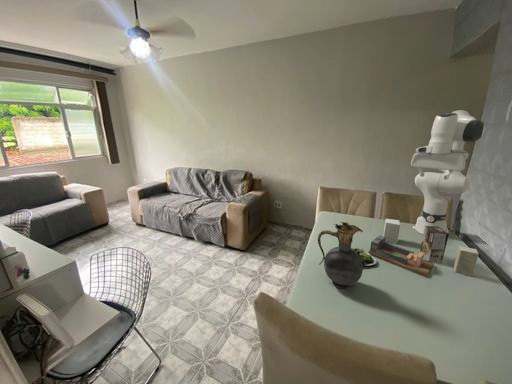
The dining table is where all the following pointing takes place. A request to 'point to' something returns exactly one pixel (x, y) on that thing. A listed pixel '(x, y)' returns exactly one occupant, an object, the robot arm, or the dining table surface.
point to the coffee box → (434, 243)
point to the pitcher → (342, 257)
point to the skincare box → (465, 260)
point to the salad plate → (365, 258)
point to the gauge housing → (397, 256)
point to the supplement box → (391, 230)
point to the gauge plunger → (415, 259)
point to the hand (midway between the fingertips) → (433, 177)
